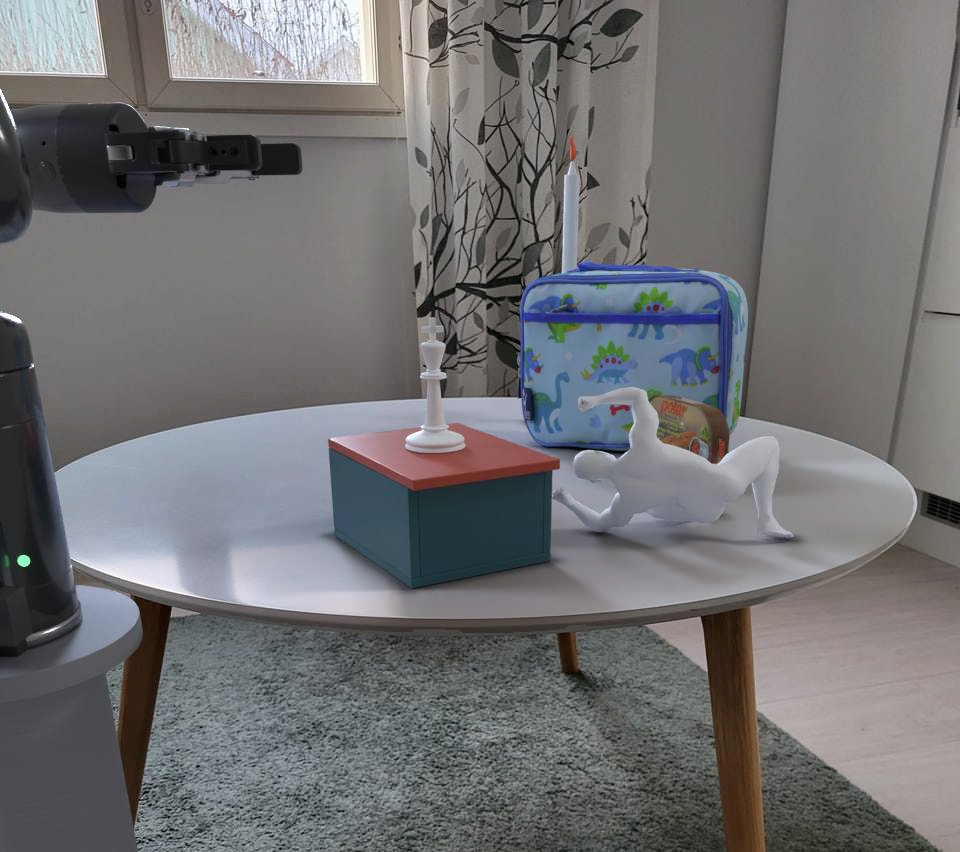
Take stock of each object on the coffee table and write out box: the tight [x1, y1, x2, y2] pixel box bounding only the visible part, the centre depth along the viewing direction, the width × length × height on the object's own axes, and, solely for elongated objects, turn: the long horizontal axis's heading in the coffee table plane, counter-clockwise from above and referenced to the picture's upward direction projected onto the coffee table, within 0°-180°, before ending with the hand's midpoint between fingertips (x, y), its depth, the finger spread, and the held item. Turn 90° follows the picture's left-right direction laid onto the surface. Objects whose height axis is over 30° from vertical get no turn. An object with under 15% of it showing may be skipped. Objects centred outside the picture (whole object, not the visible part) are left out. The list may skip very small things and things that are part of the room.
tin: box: [648, 394, 731, 464], centre depth 101 cm, size 15×3×8 cm, turn 19°
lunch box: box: [516, 260, 749, 452], centre depth 113 cm, size 26×11×21 cm, turn 62°
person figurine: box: [552, 387, 795, 539], centre depth 83 cm, size 13×13×18 cm
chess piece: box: [405, 317, 466, 453], centre depth 76 cm, size 5×5×10 cm
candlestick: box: [561, 133, 581, 273], centre depth 124 cm, size 11×11×35 cm
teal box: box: [328, 447, 554, 589], centre depth 80 cm, size 16×13×8 cm
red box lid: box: [327, 422, 561, 491], centre depth 78 cm, size 17×13×1 cm
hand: (281, 156), depth 72 cm, fingers open, 8 cm apart
